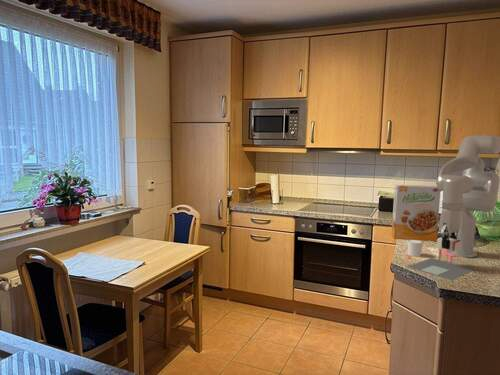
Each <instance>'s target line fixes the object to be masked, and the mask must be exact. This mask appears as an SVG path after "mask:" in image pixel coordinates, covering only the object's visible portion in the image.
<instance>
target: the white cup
mask: <svg viewBox="0 0 500 375" xmlns="http://www.w3.org/2000/svg"><path fill="white" fill-rule="evenodd" d="M406 242H407V243H406V244H407V255H408V256H411V257H421V255H422V250H423V244H424V241H423V240H407V241H406Z"/></svg>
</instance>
